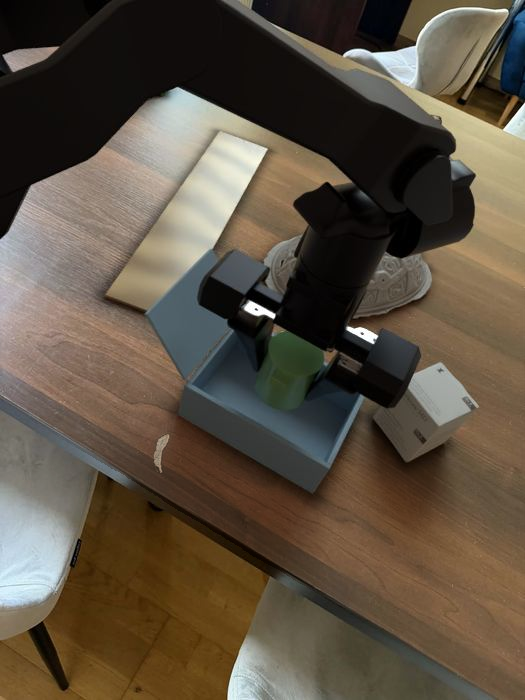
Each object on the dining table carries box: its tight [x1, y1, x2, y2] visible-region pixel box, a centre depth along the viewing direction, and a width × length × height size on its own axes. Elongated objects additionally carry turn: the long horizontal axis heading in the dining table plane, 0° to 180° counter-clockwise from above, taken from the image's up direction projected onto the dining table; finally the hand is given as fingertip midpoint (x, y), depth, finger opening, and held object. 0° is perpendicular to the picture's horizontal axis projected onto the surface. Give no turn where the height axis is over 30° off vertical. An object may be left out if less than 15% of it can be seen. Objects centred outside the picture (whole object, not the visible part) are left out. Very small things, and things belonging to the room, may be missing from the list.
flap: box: [144, 249, 230, 381], centre depth 54 cm, size 7×11×1 cm
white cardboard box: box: [372, 361, 480, 463], centre depth 59 cm, size 6×6×7 cm
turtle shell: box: [263, 233, 433, 319], centre depth 74 cm, size 16×25×7 cm, turn 115°
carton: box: [177, 328, 366, 494], centre depth 57 cm, size 15×11×5 cm
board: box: [104, 130, 268, 313], centre depth 76 cm, size 40×8×1 cm, turn 164°
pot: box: [255, 330, 325, 410], centre depth 53 cm, size 7×5×6 cm
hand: (283, 383), depth 55 cm, fingers closed on pot, 5 cm apart
